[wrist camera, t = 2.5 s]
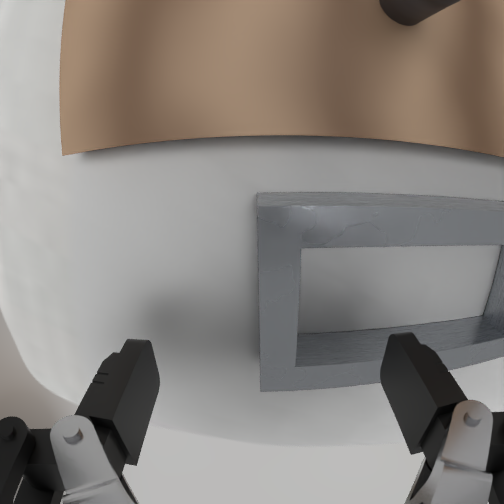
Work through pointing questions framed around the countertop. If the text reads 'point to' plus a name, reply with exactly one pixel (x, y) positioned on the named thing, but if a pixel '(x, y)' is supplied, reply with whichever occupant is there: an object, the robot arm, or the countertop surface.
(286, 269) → the grey picture frame
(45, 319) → the countertop surface
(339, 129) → the board
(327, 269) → the countertop surface
